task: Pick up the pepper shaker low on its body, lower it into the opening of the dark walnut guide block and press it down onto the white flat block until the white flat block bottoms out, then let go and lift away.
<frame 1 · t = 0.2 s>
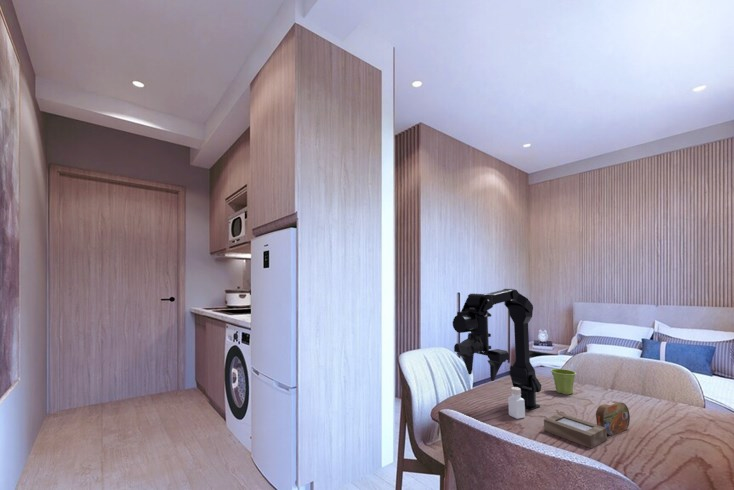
hand: (480, 377, 114), 14 cm above the table, tool pointing down, fingers open, 9 cm apart
white flat block: (574, 426, 103), point 3 cm above the table, slide at 2.0 cm
tin: (613, 431, 106), on the table
plant pot: (564, 392, 143), on the table
guide block: (574, 435, 103), on the table
pepper shaker: (516, 417, 116), on the table
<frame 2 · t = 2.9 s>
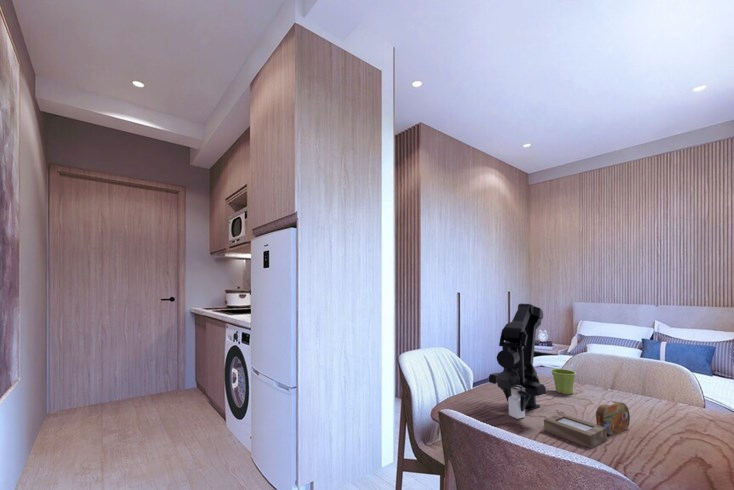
hand: (516, 409, 117), 3 cm above the table, tool pointing down, fingers closed on pepper shaker, 4 cm apart
pepper shaker: (516, 417, 116), on the table, touching gripper
everything else where it was.
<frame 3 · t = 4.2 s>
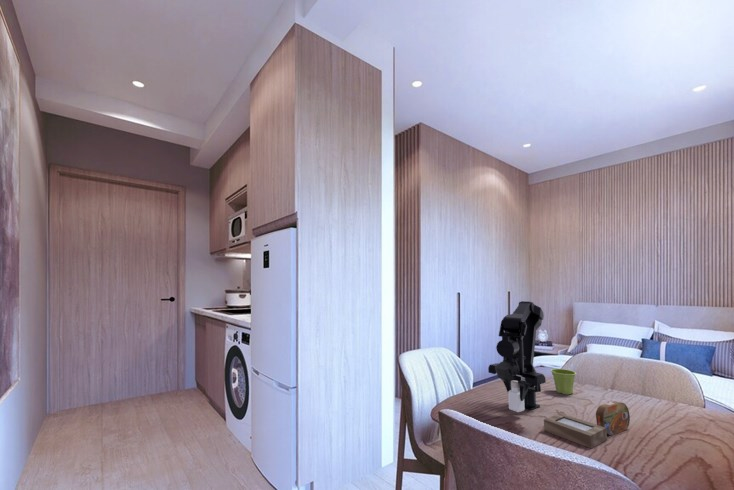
hand: (516, 398, 117), 6 cm above the table, tool pointing down, fingers closed on pepper shaker, 4 cm apart
pepper shaker: (516, 410, 117), point 2 cm above the table, touching gripper
everything else where it was.
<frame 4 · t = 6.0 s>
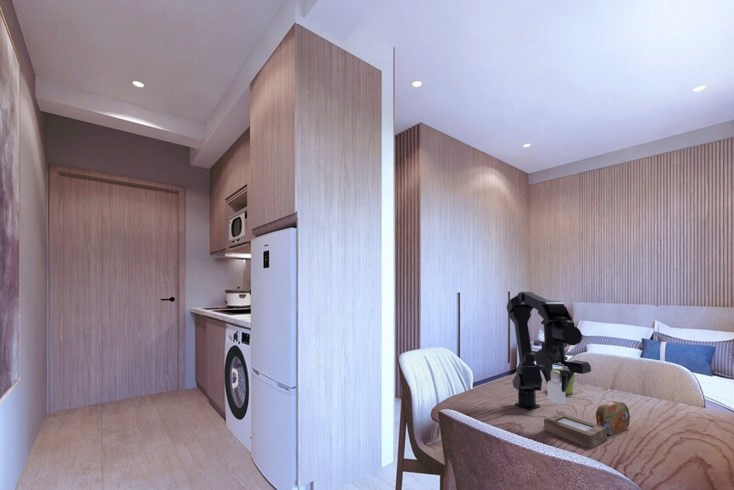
hand: (556, 390, 107), 12 cm above the table, tool pointing down, fingers closed on pepper shaker, 4 cm apart
pepper shaker: (556, 403, 107), point 8 cm above the table, touching gripper
everything else where it was.
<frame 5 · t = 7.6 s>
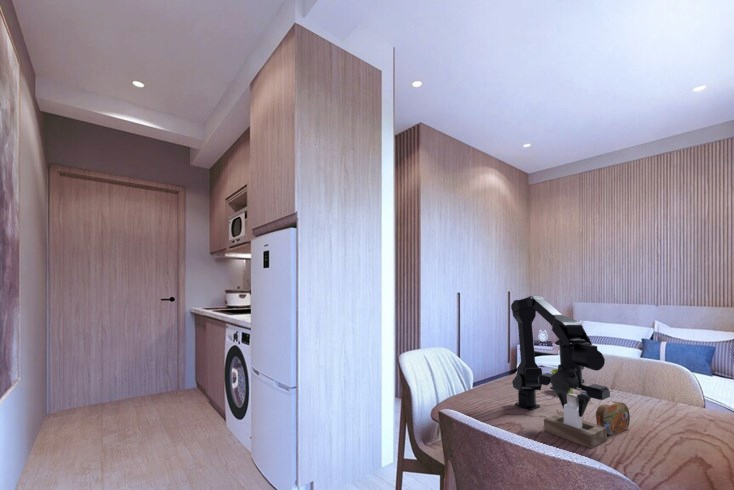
hand: (573, 414, 103), 6 cm above the table, tool pointing down, fingers closed on pepper shaker, 4 cm apart
white flat block: (574, 429, 103), point 2 cm above the table, slide at 1.0 cm, touching pepper shaker
pepper shaker: (572, 427, 103), point 2 cm above the table, touching gripper, white flat block
everything else where it was.
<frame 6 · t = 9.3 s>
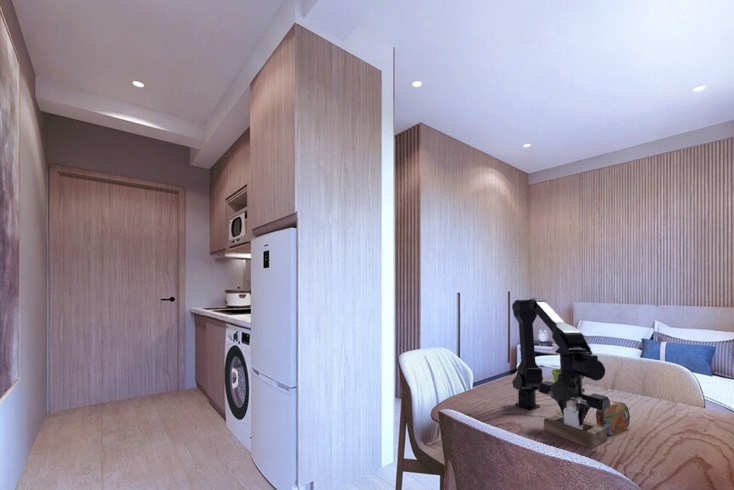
hand: (573, 423, 103), 3 cm above the table, tool pointing down, fingers closed on pepper shaker, 3 cm apart
white flat block: (574, 433, 103), resting in guide block, slide at -0.1 cm
pepper shaker: (573, 432, 103), point 1 cm above the table, touching gripper
everything else where it was.
when the fingers open (3 cm above the table, at t = 9.5 s): pepper shaker stays where it is, resting on white flat block.
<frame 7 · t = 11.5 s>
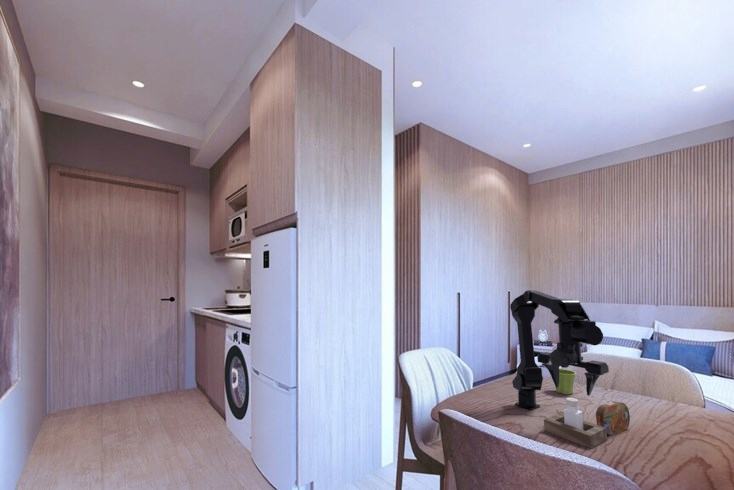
hand: (572, 391, 104), 13 cm above the table, tool pointing down, fingers open, 9 cm apart
white flat block: (574, 433, 103), resting in guide block, slide at -0.1 cm, touching pepper shaker
pepper shaker: (574, 432, 103), point 1 cm above the table, touching white flat block
everything else where it was.
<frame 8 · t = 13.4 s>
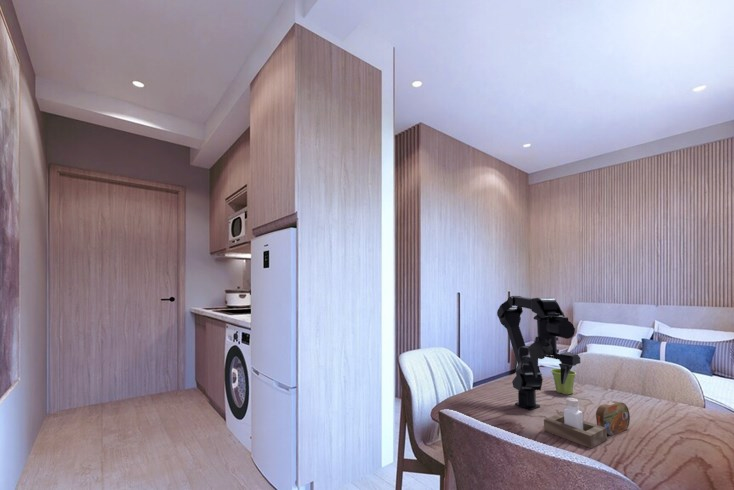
hand: (548, 380, 115), 13 cm above the table, tool pointing down, fingers open, 9 cm apart
nothing on the table moved.
at the end: white flat block slide at -0.1 cm; pepper shaker 0.1 cm off-centre on the guide block, point 0.8 cm above the guide block's base; pepper shaker tilted 0° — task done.
